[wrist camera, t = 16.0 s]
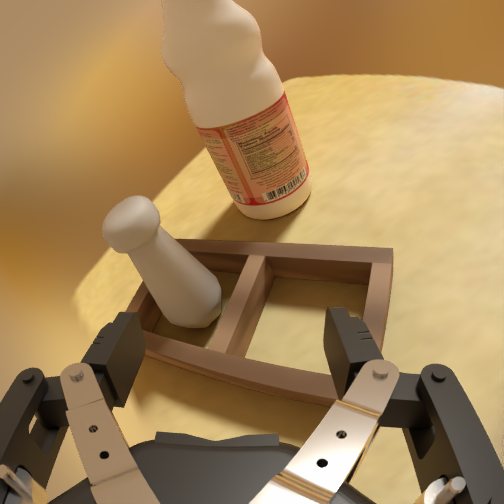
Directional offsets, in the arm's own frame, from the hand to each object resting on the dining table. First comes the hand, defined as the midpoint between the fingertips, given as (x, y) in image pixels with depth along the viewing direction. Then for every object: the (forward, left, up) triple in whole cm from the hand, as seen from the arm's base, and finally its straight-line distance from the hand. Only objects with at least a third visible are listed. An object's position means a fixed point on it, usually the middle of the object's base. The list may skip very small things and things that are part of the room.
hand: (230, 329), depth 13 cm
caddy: (-6, -6, -12) cm, 14 cm away
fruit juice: (-22, -9, -12) cm, 26 cm away
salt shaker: (-6, -11, -12) cm, 17 cm away
